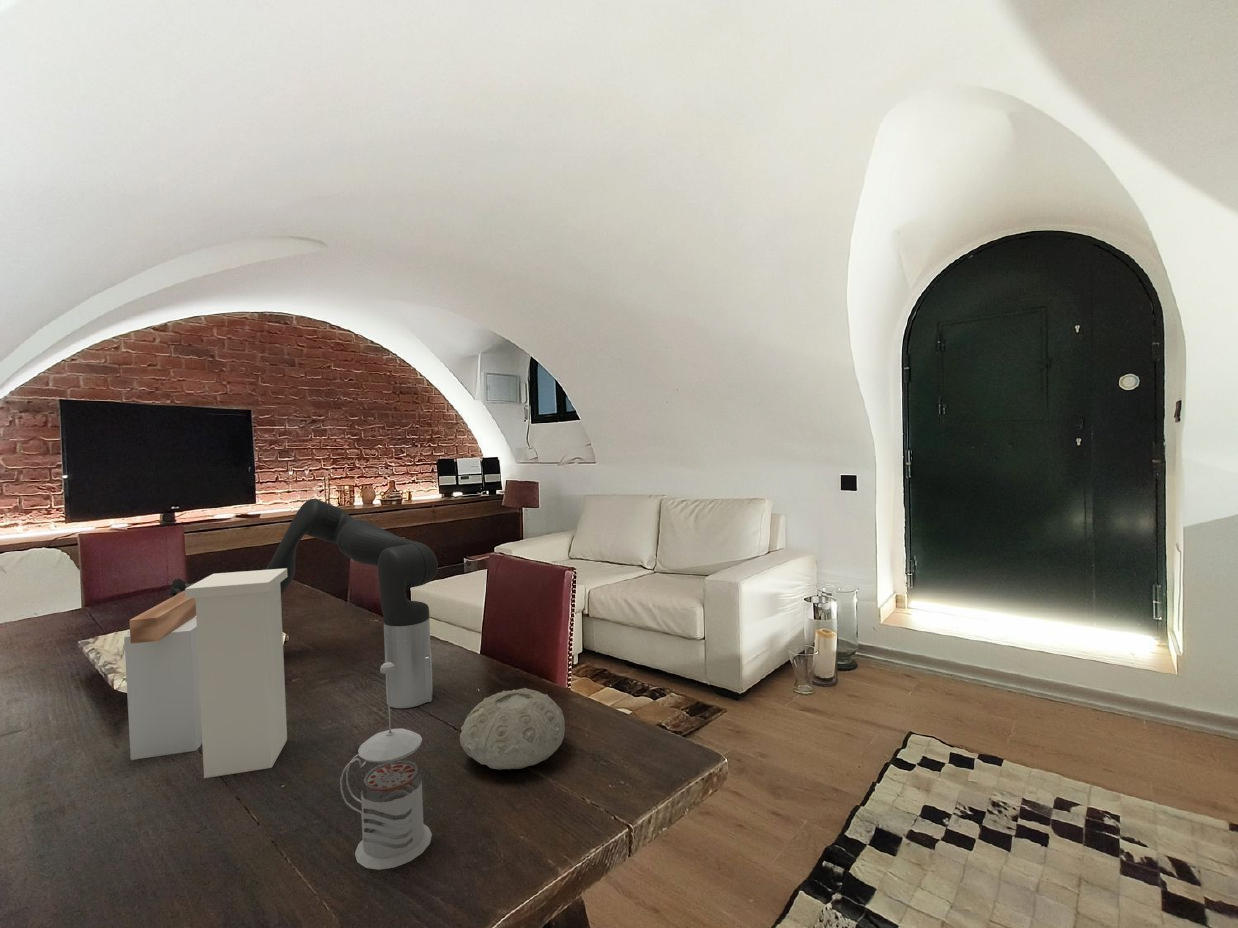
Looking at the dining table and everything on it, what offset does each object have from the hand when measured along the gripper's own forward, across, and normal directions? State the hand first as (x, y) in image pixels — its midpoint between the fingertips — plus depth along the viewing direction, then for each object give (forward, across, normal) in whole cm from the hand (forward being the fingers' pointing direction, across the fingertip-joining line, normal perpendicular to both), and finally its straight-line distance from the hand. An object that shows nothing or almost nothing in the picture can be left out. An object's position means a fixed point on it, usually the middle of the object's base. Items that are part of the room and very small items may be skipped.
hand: (199, 581), depth 123 cm
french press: (+37, +41, +52) cm, 76 cm away
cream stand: (+9, +15, +36) cm, 40 cm away
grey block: (-1, 0, +31) cm, 31 cm away
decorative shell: (+21, +60, +44) cm, 77 cm away
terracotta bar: (+8, 0, +11) cm, 13 cm away
